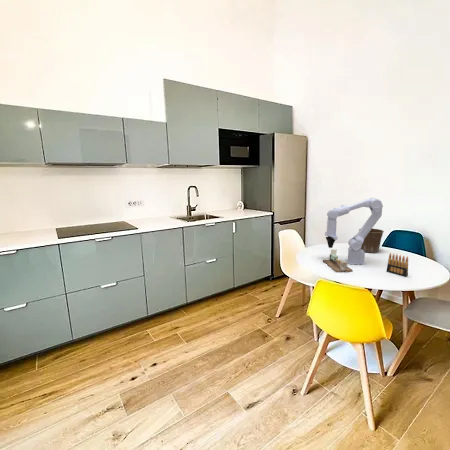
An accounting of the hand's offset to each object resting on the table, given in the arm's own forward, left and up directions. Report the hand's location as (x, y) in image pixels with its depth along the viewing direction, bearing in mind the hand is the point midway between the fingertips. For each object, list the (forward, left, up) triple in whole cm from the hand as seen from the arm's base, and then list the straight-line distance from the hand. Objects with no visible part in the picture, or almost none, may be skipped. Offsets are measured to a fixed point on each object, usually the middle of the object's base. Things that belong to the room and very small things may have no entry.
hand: (330, 247), depth 175 cm
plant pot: (-39, -19, -10) cm, 45 cm away
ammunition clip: (-28, +27, -10) cm, 40 cm away
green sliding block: (0, +6, -6) cm, 9 cm away
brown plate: (0, +11, -10) cm, 14 cm away
